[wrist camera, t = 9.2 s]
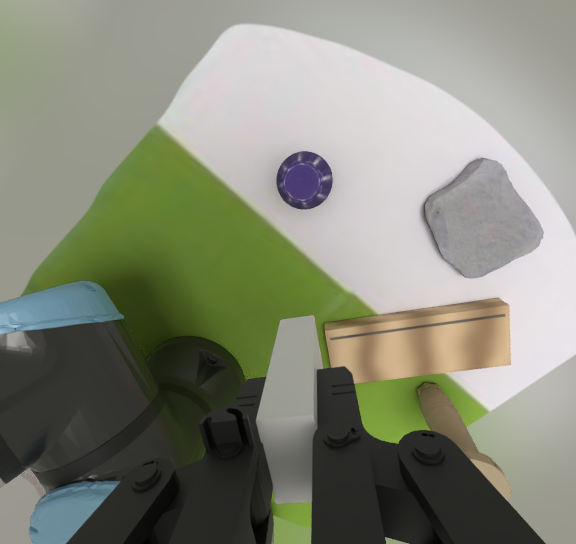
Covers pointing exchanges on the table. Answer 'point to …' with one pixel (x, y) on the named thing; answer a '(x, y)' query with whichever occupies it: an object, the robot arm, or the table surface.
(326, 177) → the toy lamp
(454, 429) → the handle
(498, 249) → the stone block
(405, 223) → the table surface
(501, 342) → the oak board
